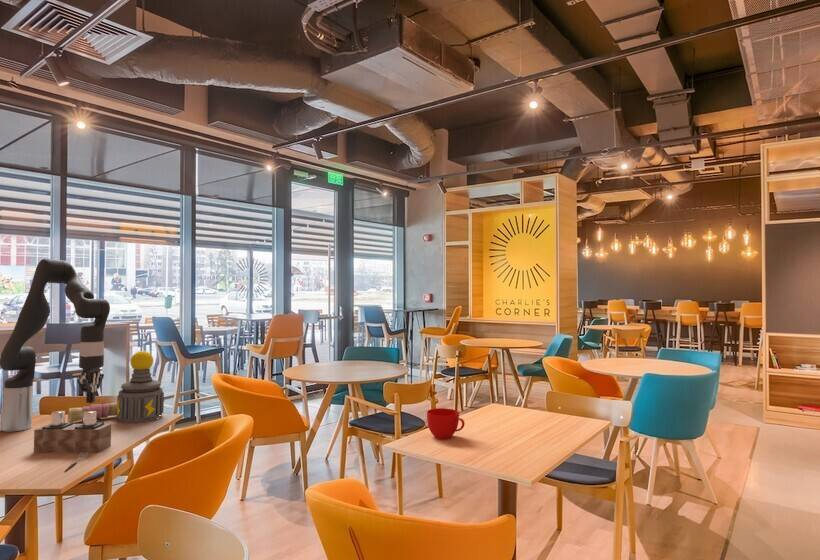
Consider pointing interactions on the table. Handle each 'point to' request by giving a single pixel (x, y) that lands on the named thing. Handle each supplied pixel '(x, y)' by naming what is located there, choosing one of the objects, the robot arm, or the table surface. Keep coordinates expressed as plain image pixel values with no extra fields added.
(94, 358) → the robot arm
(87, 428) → the walnut bar
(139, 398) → the decorative lamp
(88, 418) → the peg
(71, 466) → the fork
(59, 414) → the peg
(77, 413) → the scroll
